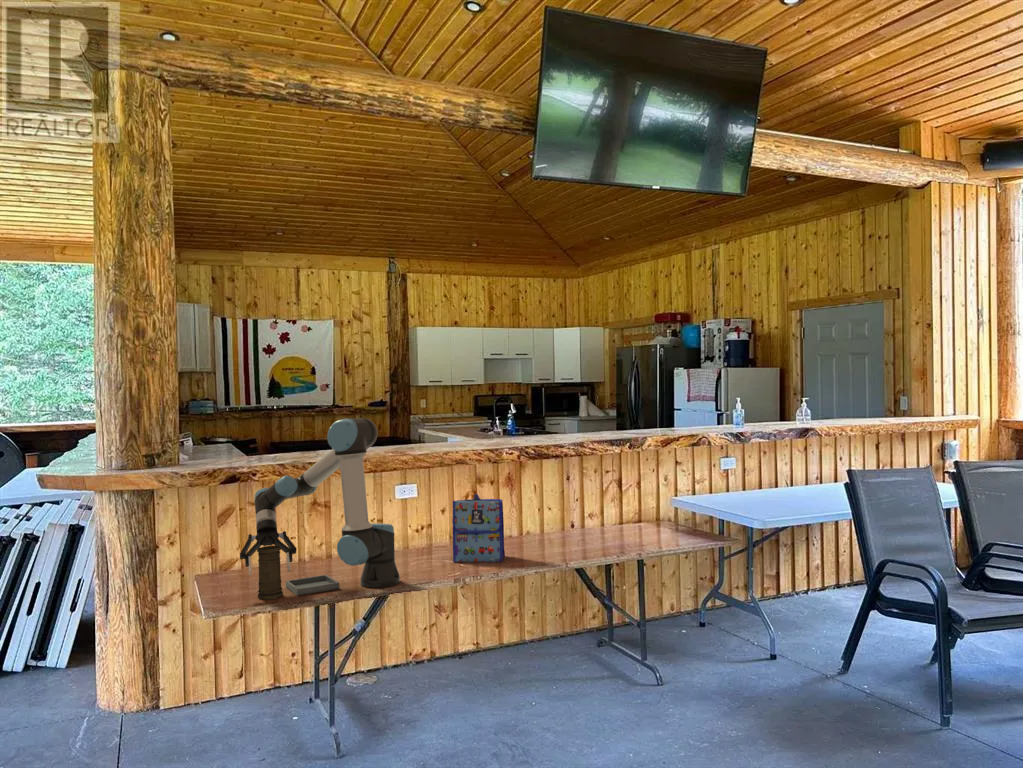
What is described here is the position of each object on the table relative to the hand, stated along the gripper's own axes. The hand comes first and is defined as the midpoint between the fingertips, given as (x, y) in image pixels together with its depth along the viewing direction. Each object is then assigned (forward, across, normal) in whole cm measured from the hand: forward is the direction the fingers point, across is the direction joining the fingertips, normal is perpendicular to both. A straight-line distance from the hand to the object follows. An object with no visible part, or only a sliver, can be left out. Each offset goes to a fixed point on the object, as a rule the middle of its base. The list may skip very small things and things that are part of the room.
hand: (269, 571), depth 276 cm
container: (+6, 0, -7) cm, 10 cm away
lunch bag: (-9, -89, -22) cm, 92 cm away
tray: (+3, -16, -11) cm, 19 cm away
